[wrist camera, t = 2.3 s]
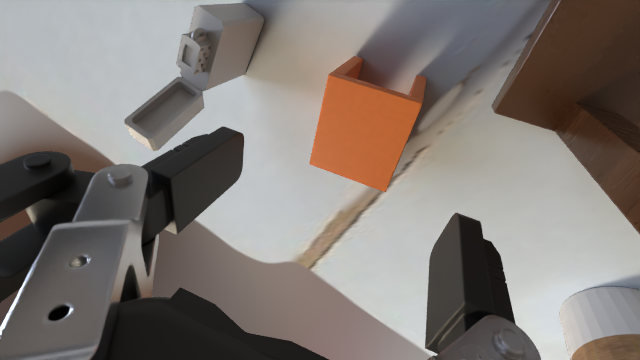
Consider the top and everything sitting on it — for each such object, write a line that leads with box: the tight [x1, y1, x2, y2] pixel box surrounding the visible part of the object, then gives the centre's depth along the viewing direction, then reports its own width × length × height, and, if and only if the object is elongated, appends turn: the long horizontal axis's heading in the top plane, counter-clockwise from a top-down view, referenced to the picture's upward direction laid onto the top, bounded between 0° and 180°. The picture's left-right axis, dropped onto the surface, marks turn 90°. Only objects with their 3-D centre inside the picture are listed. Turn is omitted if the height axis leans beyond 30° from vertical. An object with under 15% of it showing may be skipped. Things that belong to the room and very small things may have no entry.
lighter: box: [125, 3, 264, 151], centre depth 17 cm, size 7×2×8 cm, turn 151°
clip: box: [310, 56, 427, 192], centre depth 17 cm, size 4×5×5 cm
